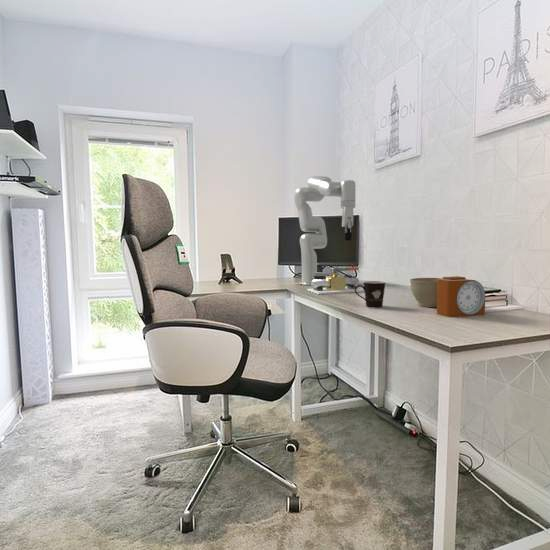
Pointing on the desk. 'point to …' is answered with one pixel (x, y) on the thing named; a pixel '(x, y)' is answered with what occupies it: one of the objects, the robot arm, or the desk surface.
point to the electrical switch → (320, 275)
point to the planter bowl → (425, 291)
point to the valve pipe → (334, 283)
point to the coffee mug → (373, 293)
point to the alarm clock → (460, 297)
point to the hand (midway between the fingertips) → (348, 240)
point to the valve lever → (344, 269)
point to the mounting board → (336, 291)
